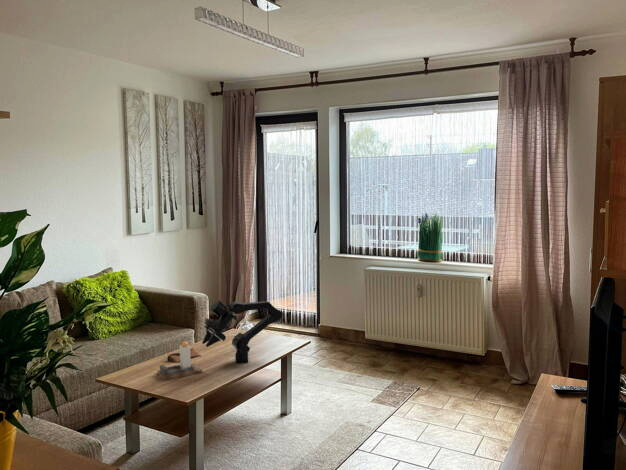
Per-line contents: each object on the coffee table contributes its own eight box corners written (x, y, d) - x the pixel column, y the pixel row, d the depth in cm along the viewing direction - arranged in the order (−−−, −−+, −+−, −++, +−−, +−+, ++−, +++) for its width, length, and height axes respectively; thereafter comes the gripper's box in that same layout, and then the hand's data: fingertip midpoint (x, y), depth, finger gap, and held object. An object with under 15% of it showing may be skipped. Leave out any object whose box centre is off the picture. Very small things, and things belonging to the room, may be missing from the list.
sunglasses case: (176, 363, 294) (172, 352, 296) (170, 367, 299) (165, 356, 300) (202, 355, 308) (198, 344, 310) (195, 359, 313) (191, 348, 314)
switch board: (195, 366, 290) (194, 358, 290) (202, 372, 280) (202, 364, 280) (157, 372, 280) (157, 364, 280) (163, 379, 270) (163, 371, 270)
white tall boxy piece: (187, 366, 285) (187, 339, 283) (190, 369, 280) (190, 342, 279) (180, 368, 283) (179, 341, 281) (183, 370, 278) (182, 343, 277)
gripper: (207, 309, 295) (188, 331, 291) (219, 316, 279) (199, 340, 275) (221, 321, 300) (202, 344, 295) (234, 329, 284) (214, 352, 279)
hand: (204, 344), depth 286 cm, fingers open, 6 cm apart
